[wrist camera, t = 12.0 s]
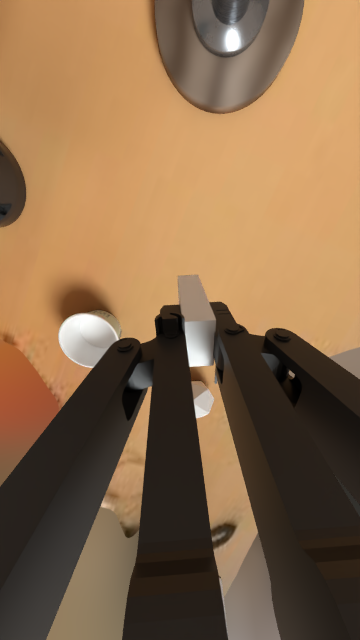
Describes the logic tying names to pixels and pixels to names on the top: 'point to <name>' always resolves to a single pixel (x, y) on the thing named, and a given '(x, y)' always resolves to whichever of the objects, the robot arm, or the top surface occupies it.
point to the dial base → (224, 73)
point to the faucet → (228, 24)
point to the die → (201, 398)
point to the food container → (88, 336)
